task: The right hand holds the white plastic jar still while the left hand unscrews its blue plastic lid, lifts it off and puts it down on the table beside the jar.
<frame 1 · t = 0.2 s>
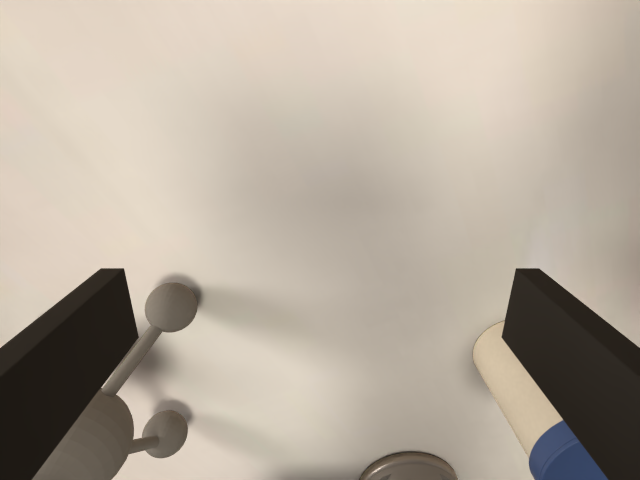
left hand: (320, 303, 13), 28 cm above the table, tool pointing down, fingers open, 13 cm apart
lid: (600, 472, 32), point 17 cm above the table, screwed on, not yet turned
molecular model: (148, 339, 47), on the table
jar: (509, 350, 47), on the table
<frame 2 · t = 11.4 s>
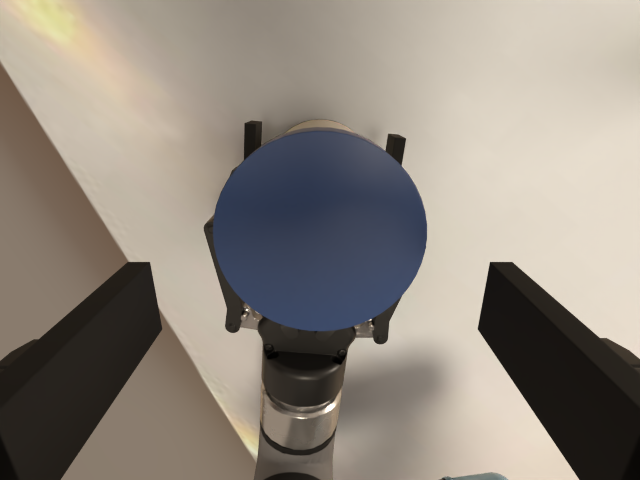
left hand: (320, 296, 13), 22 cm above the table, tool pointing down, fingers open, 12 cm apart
lid: (319, 239, 18), point 17 cm above the table, screwed on, not yet turned
jar: (319, 173, 34), on the table, touching right hand
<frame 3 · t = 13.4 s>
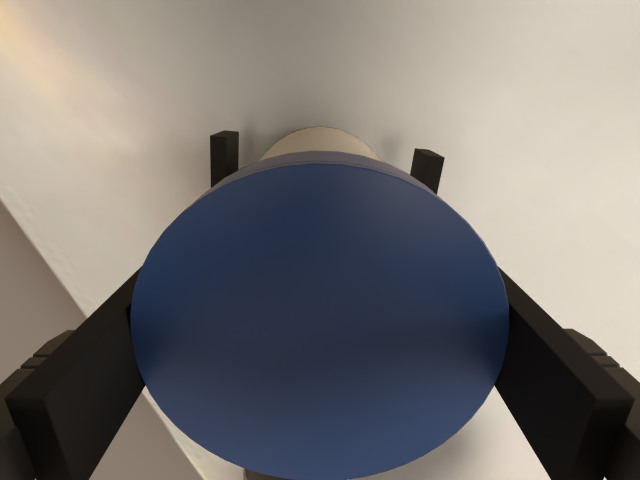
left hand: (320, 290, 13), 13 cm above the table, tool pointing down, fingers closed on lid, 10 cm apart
lid: (319, 344, 11), point 16 cm above the table, screwed on, not yet turned, touching left hand
jar: (319, 196, 26), on the table, touching right hand
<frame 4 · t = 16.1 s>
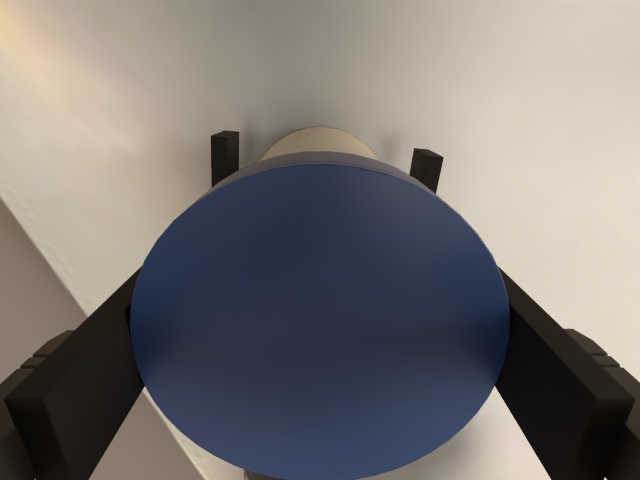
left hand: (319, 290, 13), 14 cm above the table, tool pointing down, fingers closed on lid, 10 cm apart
lid: (319, 344, 11), point 17 cm above the table, turned 63° so far, risen 0.2 cm, still on its thread, touching left hand
jar: (319, 196, 26), on the table, touching right hand
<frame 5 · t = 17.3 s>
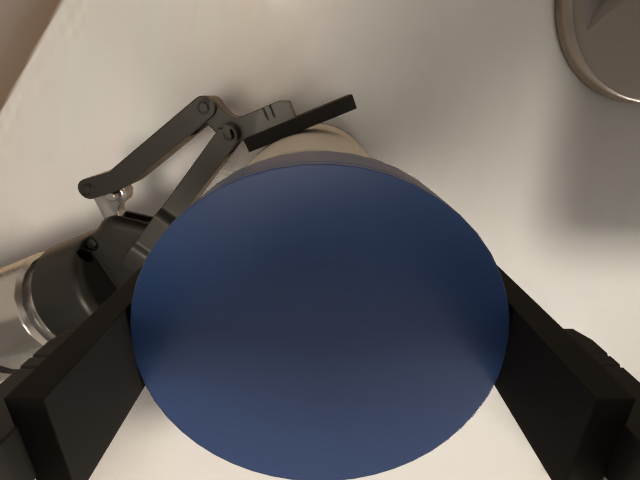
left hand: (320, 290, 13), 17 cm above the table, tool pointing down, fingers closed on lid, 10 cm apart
lid: (319, 344, 11), point 20 cm above the table, off its thread, touching left hand
jar: (313, 184, 30), on the table, touching right hand
when the left hand's fingers open (0 cm above the table, at t = 22.2 s): lid drops 2 cm, point 2 cm above the table.
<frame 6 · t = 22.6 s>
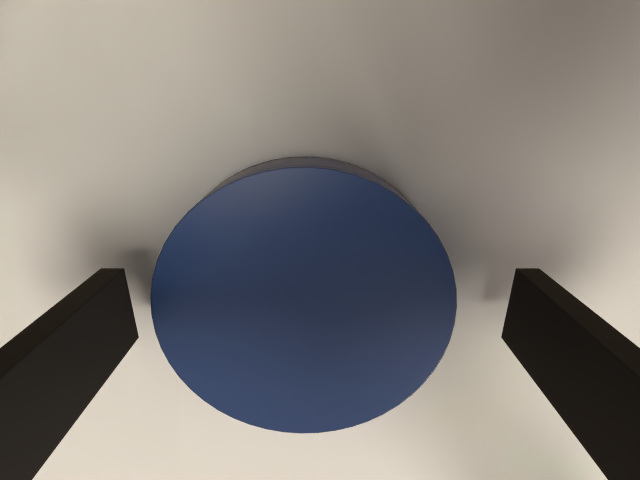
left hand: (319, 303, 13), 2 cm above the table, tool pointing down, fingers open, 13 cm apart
lid: (305, 314, 13), point 2 cm above the table, off its thread
when the right hand's fingers open (6 cm above the table, at t = 23.2 s): jar stays where it is, on the table.
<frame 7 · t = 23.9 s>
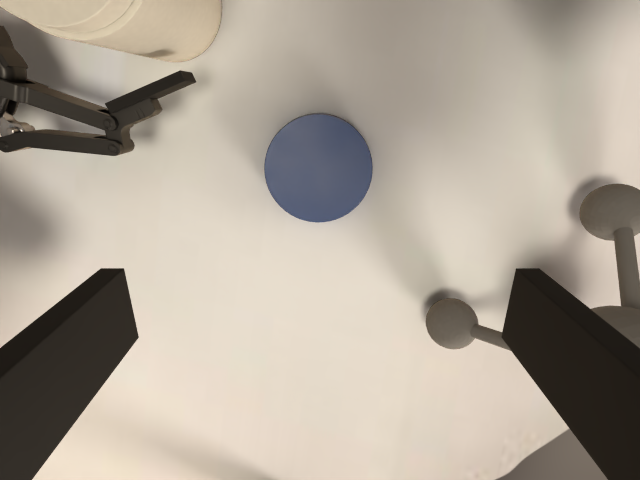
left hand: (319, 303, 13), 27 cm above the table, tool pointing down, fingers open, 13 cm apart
lid: (318, 170, 36), point 2 cm above the table, off its thread
molecular model: (514, 291, 43), on the table
jar: (167, 2, 32), on the table
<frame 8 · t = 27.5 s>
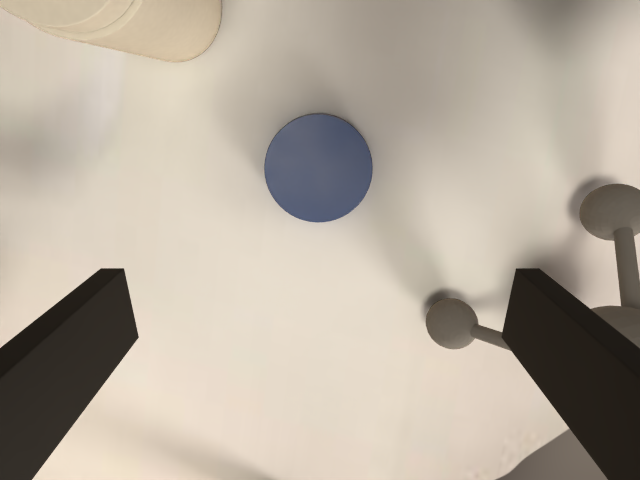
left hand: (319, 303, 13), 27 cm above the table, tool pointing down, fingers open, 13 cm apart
lid: (318, 170, 36), point 2 cm above the table, off its thread
molecular model: (514, 291, 43), on the table
jar: (167, 2, 32), on the table
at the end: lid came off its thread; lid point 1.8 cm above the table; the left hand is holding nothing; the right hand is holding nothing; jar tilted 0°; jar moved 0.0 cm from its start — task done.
